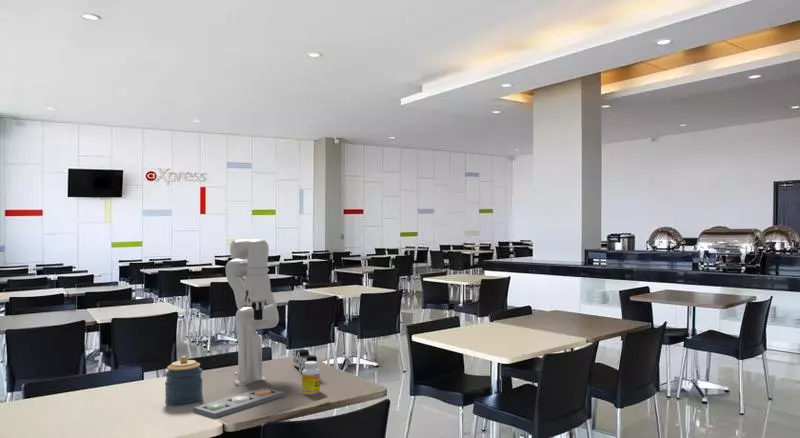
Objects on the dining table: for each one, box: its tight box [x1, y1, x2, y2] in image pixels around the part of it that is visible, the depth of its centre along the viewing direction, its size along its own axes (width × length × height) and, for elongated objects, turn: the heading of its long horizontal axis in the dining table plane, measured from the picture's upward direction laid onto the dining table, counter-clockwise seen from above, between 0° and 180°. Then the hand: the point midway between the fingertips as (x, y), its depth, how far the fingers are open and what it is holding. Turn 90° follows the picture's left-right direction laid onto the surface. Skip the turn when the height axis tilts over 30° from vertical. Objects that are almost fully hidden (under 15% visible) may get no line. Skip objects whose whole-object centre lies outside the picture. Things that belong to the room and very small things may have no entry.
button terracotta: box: [254, 389, 271, 397], centre depth 208 cm, size 6×6×3 cm
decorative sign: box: [292, 348, 318, 375], centre depth 250 cm, size 32×4×10 cm, turn 22°
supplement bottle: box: [301, 361, 321, 396], centre depth 213 cm, size 7×7×13 cm
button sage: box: [207, 403, 226, 411], centre depth 192 cm, size 6×6×3 cm
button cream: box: [232, 396, 249, 403], centre depth 200 cm, size 6×6×3 cm
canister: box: [164, 355, 204, 407], centre depth 206 cm, size 13×13×18 cm
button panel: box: [192, 387, 285, 419], centre depth 200 cm, size 30×12×3 cm, turn 143°
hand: (258, 319), depth 216 cm, fingers closed
